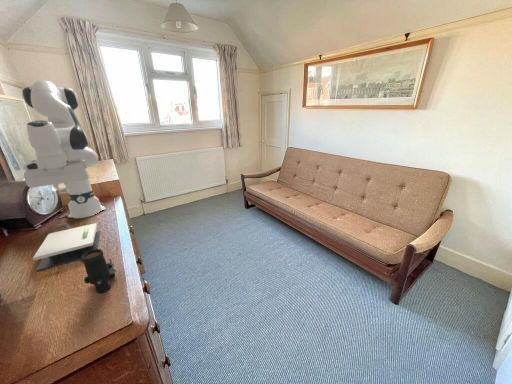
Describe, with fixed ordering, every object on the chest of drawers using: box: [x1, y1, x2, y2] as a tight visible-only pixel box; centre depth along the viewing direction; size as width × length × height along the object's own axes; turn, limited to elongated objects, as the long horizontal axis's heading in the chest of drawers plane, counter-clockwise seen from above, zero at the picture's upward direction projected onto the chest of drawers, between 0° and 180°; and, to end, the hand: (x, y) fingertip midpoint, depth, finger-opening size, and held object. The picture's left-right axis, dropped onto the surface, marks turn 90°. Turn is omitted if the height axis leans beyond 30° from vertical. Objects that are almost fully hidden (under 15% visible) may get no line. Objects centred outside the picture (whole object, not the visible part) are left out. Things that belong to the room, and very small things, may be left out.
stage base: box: [35, 230, 102, 273], centre depth 94 cm, size 23×19×4 cm
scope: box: [81, 248, 117, 294], centre depth 70 cm, size 8×14×10 cm
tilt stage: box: [32, 222, 98, 262], centre depth 93 cm, size 22×18×3 cm
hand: (64, 192), depth 94 cm, fingers closed
